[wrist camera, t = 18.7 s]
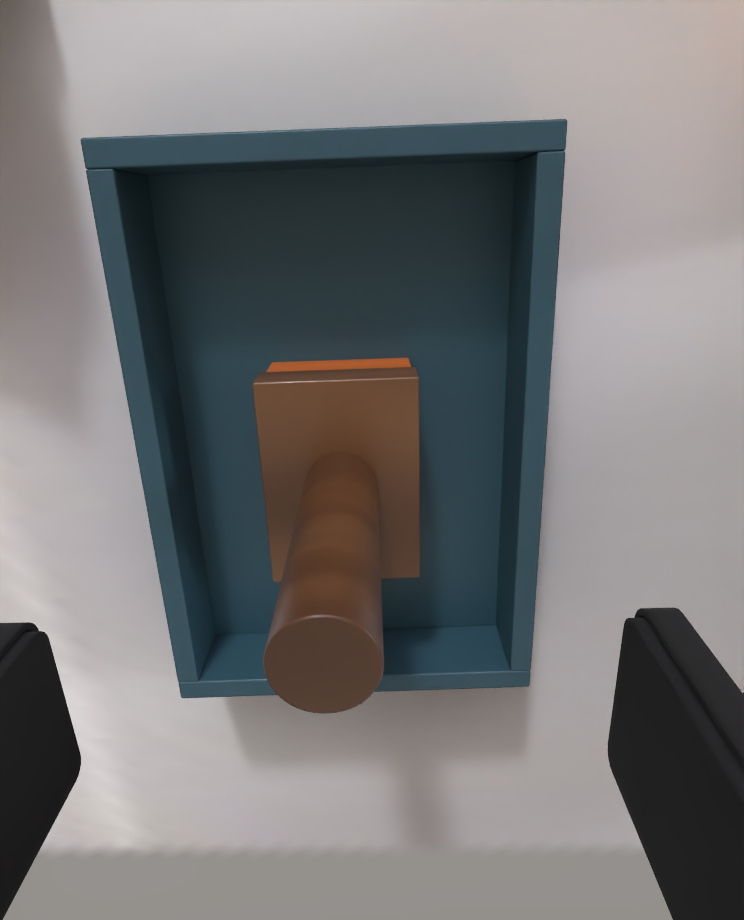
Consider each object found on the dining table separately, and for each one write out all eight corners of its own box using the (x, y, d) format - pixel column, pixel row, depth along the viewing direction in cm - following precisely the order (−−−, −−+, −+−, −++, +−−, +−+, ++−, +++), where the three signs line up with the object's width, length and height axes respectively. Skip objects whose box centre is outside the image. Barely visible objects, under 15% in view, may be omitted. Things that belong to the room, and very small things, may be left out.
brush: (268, 359, 23) (164, 506, 11) (411, 354, 23) (457, 496, 11) (284, 536, 25) (214, 806, 14) (413, 532, 25) (452, 798, 14)
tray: (129, 151, 21) (79, 137, 18) (532, 136, 21) (568, 118, 17) (205, 635, 28) (180, 699, 25) (508, 625, 28) (530, 687, 24)
